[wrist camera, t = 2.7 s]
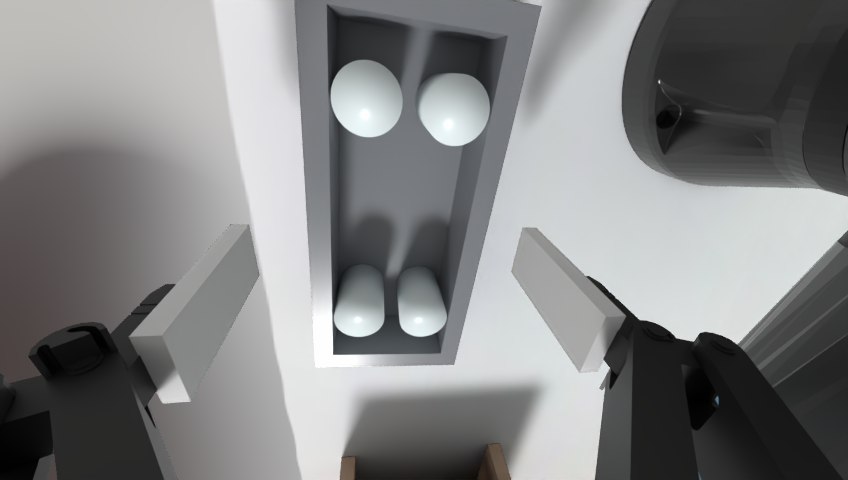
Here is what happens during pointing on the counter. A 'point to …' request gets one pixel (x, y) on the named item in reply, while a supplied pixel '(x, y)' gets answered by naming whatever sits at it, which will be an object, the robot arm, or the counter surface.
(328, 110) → the tray
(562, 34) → the counter surface
